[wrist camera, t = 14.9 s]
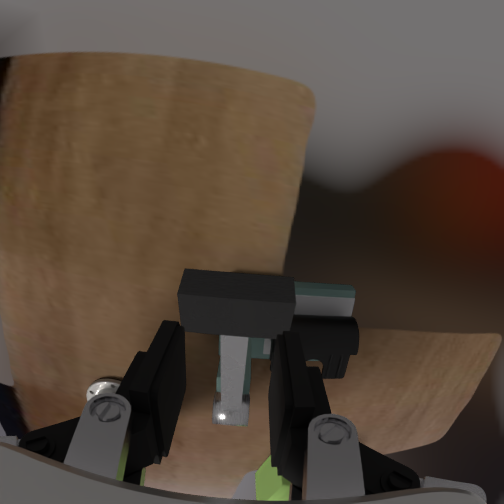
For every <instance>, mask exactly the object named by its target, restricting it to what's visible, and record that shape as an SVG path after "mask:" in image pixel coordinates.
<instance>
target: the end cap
mask: <svg viewBox="0 0 504 504" xmlns="http://www.w3.org/2000/svg"><path fill="white" fill-rule="evenodd" d="M290 331H298V332H299V335H300V339H301V344H302V348H303V353H304V357H305V362H306V361H308V360H313V359H314V360H319V361H320V362H322V364H323V369H322V373H321V376H322V379H336V378H343V377H344V375H345V372H346V368H347V364H348V361H349V357H350V355H357V353H358V347H359V329H358V325H357V322H356V320H355V318H353V317H352V316H322V315H299V314H294V315H293V319H292V323H291V327H290ZM275 345H276V339H271V349H270V357H269V359H270V360H271V365H270V370H271V372H272V366H273V359H274V352H275Z"/></svg>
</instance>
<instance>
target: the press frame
mask: <svg viewBox="0 0 504 504" xmlns="http://www.w3.org/2000/svg"><path fill="white" fill-rule="evenodd" d="M294 284H295V295H296V306H295V311H294V314H299V315H322V316H351V315H352V310H353V306H354V302H355V293H356V291H355V289H354V288H353V286H352V285H342V284H326V283H311V282H296V281H294ZM270 349H271V339H265V338H251V337H248V347H247V356H246V365H245V375H244V384H243V393H242V394H249V390H250V380H251V358H261V359H269V357H270ZM219 355H220V361H219V367H218V373H217V388H216V391H217V392H221V335H219ZM308 361H319V360H314V359H313V360H308Z"/></svg>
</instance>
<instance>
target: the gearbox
mask: <svg viewBox="0 0 504 504" xmlns="http://www.w3.org/2000/svg"><path fill="white" fill-rule="evenodd" d="M255 479H256V500H265V501H289V490H290V483H291V482H289V481H288V480H287V479H285V478H284V477H282V476H278V475H277V467H271V455H270V456H269V457H268V459H267V460H266V461H265V462H264V463H263V465H262V466H261V467H260V468H259V469H258V471H257V472H256V473H255Z"/></svg>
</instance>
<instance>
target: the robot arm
mask: <svg viewBox="0 0 504 504" xmlns="http://www.w3.org/2000/svg"><path fill="white" fill-rule="evenodd" d="M185 390H186V365H185V329H184V326H180V325H179V322H176V321H168V320H163V322H162V324H161V326H160V328H159V330H158V332H157V333H156V335H155V337H154V339H153V341H152V343H151V345H150V347H149V349H148V351H147V352H142V351H139V352H138V353H137V354H136V356H135V357H134V359H133V361H132V363H131V365H130V367H129V369H128V370H127V372H126V374H125V376H124V378H123V380H122V382H121V381H118V380H114V379H99V380H96V381H95V382H93V383H92V384H91V385H90V387H89V388H88V390H87V401H88V402H87V403H86V405H85V407H84V410H83V412H82V415H81V416H80V417H77V418H74V419H71V420H68V421H65V422H61V423H58V424H55V425H51V426H48V427H44V428H41V429H37V430H34V431H31V432H29V433H27V434H26V435H24V436H23V437H22V438H21V439H20V440H18V438H17V436H0V504H487V503H486V495H485V493H484V491H483V489H481V488H480V487H479V486H477V485H473V484H468V483H461V482H455V481H449V480H443V479H438V478H433V477H428V476H425V478H424V479H421V478H419V477H418V475H417V474H416V473H415V472H414V471H413V470H412V469H410V468H408V467H406V466H405V465H402V464H400V463H398V462H396V461H394V460H392V459H390V458H388V457H386V456H384V455H383V454H381V453H379V452H377V451H375V450H373V449H371V448H369V447H367V446H365V445H364V444H362V443H360V442H358V435H357V430H356V427H355V425H354V424H353V423H352V422H351V421H350V420H348V419H347V418H345V417H343V416H340V415H336V414H331V410H330V406H329V402H328V398H327V395H326V391H325V387H324V383H323V380H322V376H321V372H320V369H319V367H308V366H306V362H305V357H304V353H303V348H302V344H301V339H300V335H299V332H298V331H283V333H282V335H281V334H277V338H276V345H275V352H274V359H273V366H272V372H271V379H270V386H269V394H268V401H269V424H270V449H271V467H277V475H278V476H282V477H284V478H285V479H287V480H288V481H289V482H291V483H290V490H289V501H265V500H240V499H239V500H238V499H227V498H216V497H206V496H198V495H190V494H184V493H177V492H171V491H165V490H160V489H155V488H150V487H145V486H144V480H145V472H146V468H145V467H147V466H149V465H151V464H153V463H155V464H160V463H161V459H162V456H164V457H167V456H168V454H169V450H170V446H171V442H172V439H173V435H174V431H175V427H176V424H177V420H178V416H179V412H180V409H181V405H182V401H183V398H184V394H185Z"/></svg>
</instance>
